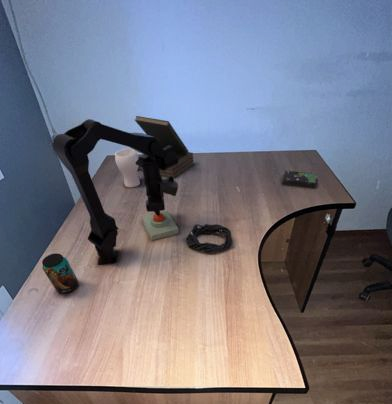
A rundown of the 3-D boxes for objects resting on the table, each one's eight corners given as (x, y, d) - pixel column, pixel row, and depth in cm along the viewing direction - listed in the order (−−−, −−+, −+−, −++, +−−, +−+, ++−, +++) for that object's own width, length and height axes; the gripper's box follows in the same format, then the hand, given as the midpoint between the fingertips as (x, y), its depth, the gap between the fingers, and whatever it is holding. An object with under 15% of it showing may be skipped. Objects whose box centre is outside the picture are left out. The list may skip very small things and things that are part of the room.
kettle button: (165, 221, 103) (164, 217, 102) (155, 223, 102) (154, 219, 101) (162, 215, 106) (161, 211, 104) (152, 218, 105) (152, 214, 103)
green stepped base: (178, 233, 103) (178, 224, 100) (151, 240, 101) (150, 231, 98) (168, 215, 112) (167, 206, 109) (142, 221, 110) (141, 213, 107)
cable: (238, 238, 100) (239, 228, 97) (222, 260, 92) (222, 251, 88) (198, 226, 106) (197, 217, 103) (180, 246, 98) (179, 237, 94)
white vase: (138, 189, 128) (132, 157, 117) (118, 188, 130) (110, 156, 119) (145, 179, 135) (140, 148, 124) (126, 178, 137) (119, 147, 126)
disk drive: (282, 185, 127) (314, 188, 124) (283, 179, 125) (316, 182, 122) (283, 175, 134) (314, 178, 130) (285, 170, 132) (316, 172, 128)
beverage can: (56, 298, 82) (38, 270, 73) (57, 282, 87) (40, 254, 78) (79, 292, 83) (64, 264, 75) (79, 277, 88) (65, 249, 79)
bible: (193, 164, 146) (191, 112, 128) (173, 178, 135) (167, 123, 117) (160, 156, 155) (154, 106, 137) (138, 169, 144) (128, 117, 126)
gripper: (177, 186, 85) (180, 226, 96) (173, 162, 98) (177, 200, 109) (142, 189, 84) (150, 229, 96) (143, 164, 97) (150, 203, 108)
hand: (158, 215), depth 102 cm, fingers closed
